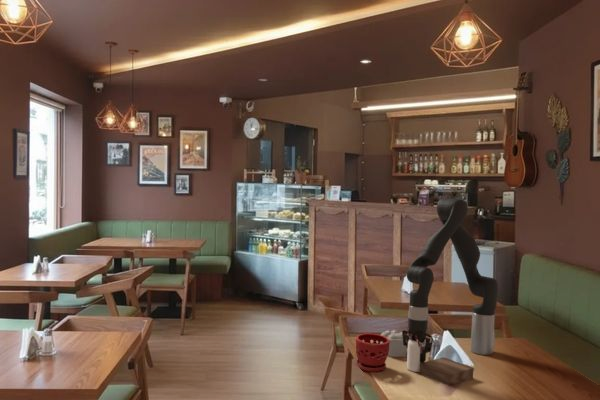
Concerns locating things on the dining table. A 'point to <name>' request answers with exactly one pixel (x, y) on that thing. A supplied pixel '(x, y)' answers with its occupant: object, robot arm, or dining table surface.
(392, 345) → the lumpy-topped squat cylinder
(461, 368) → the walnut stand
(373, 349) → the plant pot
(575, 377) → the dining table surface
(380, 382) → the dining table surface
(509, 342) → the dining table surface
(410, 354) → the can
